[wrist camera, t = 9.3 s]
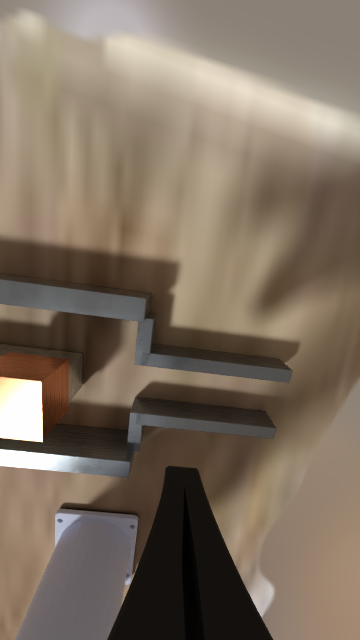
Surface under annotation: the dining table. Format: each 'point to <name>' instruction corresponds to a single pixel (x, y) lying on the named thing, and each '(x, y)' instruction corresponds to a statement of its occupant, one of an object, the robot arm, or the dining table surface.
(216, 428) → the socket
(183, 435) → the dining table surface
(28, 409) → the orange block
